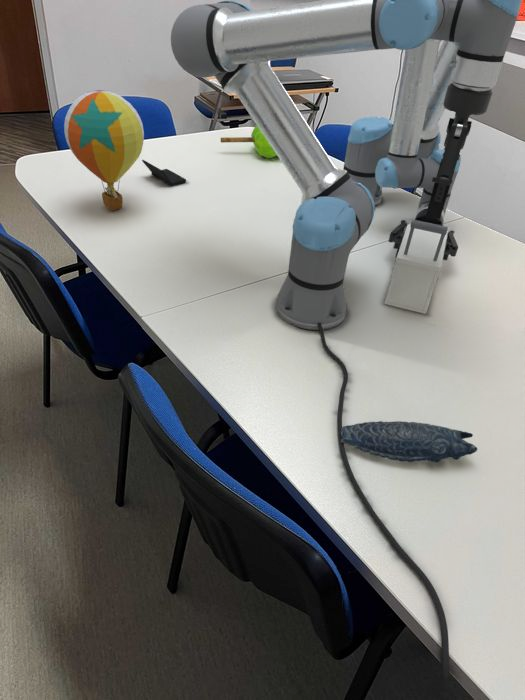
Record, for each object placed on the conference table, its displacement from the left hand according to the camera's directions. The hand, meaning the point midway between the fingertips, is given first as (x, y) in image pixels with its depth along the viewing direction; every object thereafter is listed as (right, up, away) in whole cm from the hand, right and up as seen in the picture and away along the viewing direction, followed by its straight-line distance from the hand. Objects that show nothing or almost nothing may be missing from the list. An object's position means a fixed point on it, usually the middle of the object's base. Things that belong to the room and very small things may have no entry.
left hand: (436, 203), depth 102 cm
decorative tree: (-35, +43, +88) cm, 104 cm away
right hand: (+3, -7, +20) cm, 22 cm away
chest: (+1, -15, +20) cm, 25 cm away
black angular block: (-65, +25, +62) cm, 93 cm away
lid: (+1, -6, +13) cm, 14 cm away
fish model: (-12, -45, -19) cm, 50 cm away
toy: (-76, +11, +43) cm, 88 cm away
